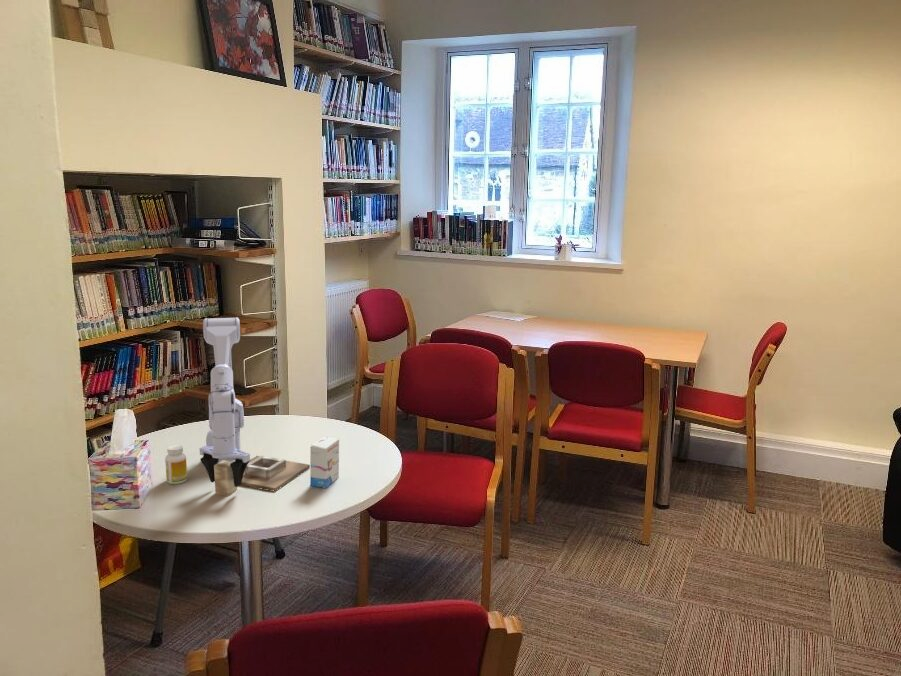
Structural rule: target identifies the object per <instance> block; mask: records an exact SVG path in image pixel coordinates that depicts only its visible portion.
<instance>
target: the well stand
mask: <svg viewBox="0 0 901 676" xmlns="http://www.w3.org/2000/svg"><path fill="white" fill-rule="evenodd" d="M308 468H309V469H310V468H311V467H310V464H307V463H301V462H295V461H290V460H286V459H282V458H276V457H270V456H265V455H256V456H254V457H253V458H250V460H249V463H248V465H247V466H246V469H245V471H244V474H243V478H242V483H241V485H240V486H242V485H243V486H244V487H248V486H249V487H248V488H253V487H255V488H254V489H258V488H262V489H261V490H264V489H268V490H267V491H269V490H274V491H276V490H277V489H278V490H280V489H281V488H283V487H285V486H286V485H287V484H289V483H290V482H291V480H292V481H293V480H294V479H296V478H297V477H299V476H301V475H302V474H303V473H304V471H305V472H306V471H307V470H309V469H308ZM301 473H302V474H301ZM298 475H299V476H298ZM288 482H289V483H288ZM285 484H286V485H285ZM243 486H242V487H243ZM282 486H283V487H282ZM280 487H281V488H280ZM279 488H280V489H279ZM278 490H277V491H278ZM274 491H273V492H274ZM277 491H276V492H277Z"/></svg>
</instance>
